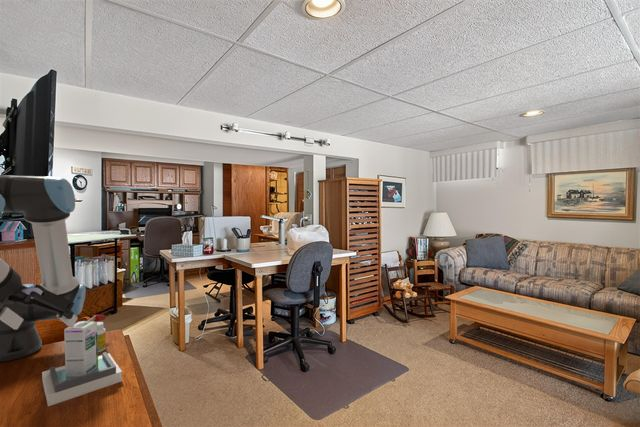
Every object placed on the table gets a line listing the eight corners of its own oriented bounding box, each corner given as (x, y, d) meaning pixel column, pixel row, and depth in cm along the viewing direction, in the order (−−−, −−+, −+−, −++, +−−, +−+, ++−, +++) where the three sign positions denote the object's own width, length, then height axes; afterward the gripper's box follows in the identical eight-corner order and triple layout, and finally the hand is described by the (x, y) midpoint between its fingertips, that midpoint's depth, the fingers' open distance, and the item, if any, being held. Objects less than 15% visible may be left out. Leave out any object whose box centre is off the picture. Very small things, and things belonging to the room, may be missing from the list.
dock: (42, 381, 95) (42, 365, 94) (109, 361, 107) (109, 347, 106) (47, 406, 83) (47, 387, 83) (122, 381, 95) (121, 364, 95)
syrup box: (85, 377, 91) (84, 328, 91) (64, 377, 91) (63, 328, 91) (98, 367, 97) (98, 320, 97) (78, 367, 97) (78, 320, 96)
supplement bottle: (92, 355, 111) (91, 327, 111) (85, 351, 114) (84, 324, 114) (108, 349, 116) (108, 323, 115) (101, 345, 119) (101, 319, 118)
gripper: (-89, 295, 64) (-15, 339, 79) (41, 292, 66) (90, 335, 81) (-60, 264, 69) (5, 311, 84) (60, 262, 71) (102, 308, 86)
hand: (46, 323), depth 83 cm, fingers open, 13 cm apart
